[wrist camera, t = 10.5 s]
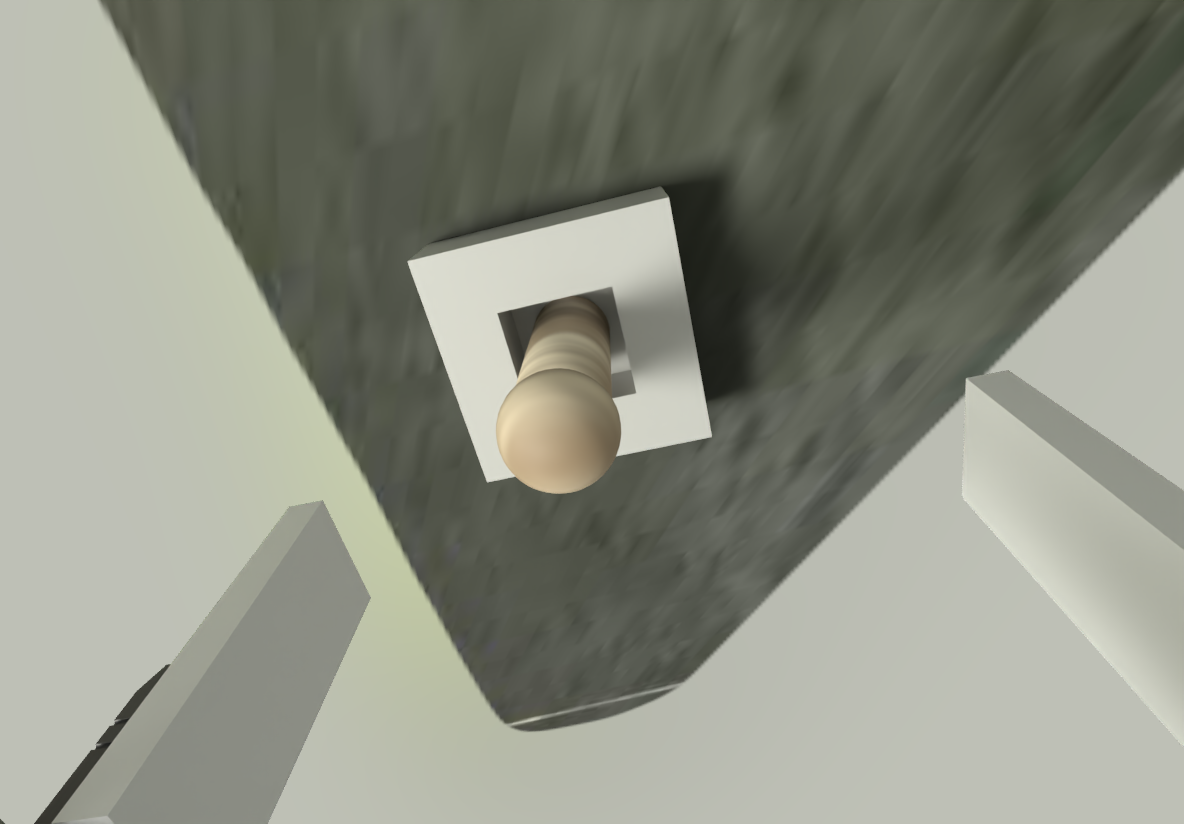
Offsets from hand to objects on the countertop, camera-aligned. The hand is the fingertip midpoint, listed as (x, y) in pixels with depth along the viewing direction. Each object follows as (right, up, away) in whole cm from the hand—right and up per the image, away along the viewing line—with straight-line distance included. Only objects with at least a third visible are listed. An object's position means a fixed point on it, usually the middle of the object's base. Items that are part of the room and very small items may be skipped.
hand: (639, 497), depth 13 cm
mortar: (-2, +6, +21) cm, 22 cm away
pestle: (-2, +6, +21) cm, 21 cm away
